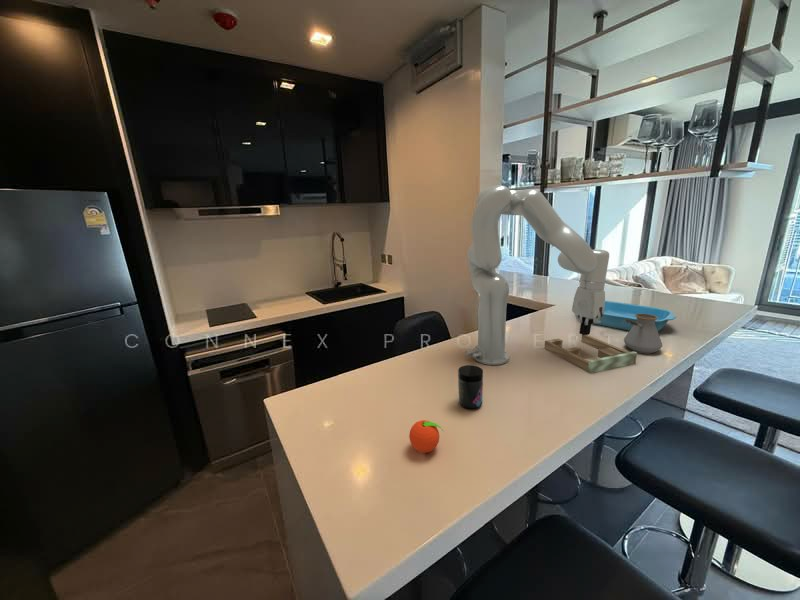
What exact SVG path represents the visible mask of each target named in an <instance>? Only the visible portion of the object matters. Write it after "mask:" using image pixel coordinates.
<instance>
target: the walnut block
mask: <svg viewBox="0 0 800 600" xmlns="http://www.w3.org/2000/svg"><path fill="white" fill-rule="evenodd" d="M597 351H598V352H597V357H599V358H604V357H609V356H614V355H619V354H623V353H621V352H619V351H617V350H614V349H612V348H605V349H598V350H597Z"/></svg>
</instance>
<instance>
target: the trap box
mask: <svg viewBox="0 0 800 600" xmlns="http://www.w3.org/2000/svg"><path fill="white" fill-rule="evenodd" d="M563 341H564V340H563V339H561V338H559V337H558V338H555V339H554V338H553V339H547V340H544V349H545V350H547V351H549V352H551V353H552V354H554V355H556V356H559V358H562V359H563V360H566V361H567V362H568V363H571V364H572V365H574V366H576V367H578V368H580V369H582V370H584V371H586V372H587V373H589V374H594V373H599V372H604V371H608V370H614V369H617V368H621V367H623V368H624V367H627V366H631V365H636V364H637V358H638V357H637V356H638V352H635V351H633V350H632V351H627V350H625V349H622V348H620V347H618V346H615V345H612V344H611V343H607V342H605V341H603V340H600V339H598V338H596V337H593V336H591V335H582V334H581V342H582V343H585V344H586V345H589V346H591V347H592V348H596V349H598V350H600V349H605V348H612V349H614V350H617V351H619V352H621V353H623V354H619V355H614V356H609V357H604V358H599V357H598V356H594V357H590V358H584V357H582V355H581V353H582V348H581V347H578V346H575V347H569V348H564V347H563Z"/></svg>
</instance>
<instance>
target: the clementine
mask: <svg viewBox="0 0 800 600" xmlns="http://www.w3.org/2000/svg"><path fill="white" fill-rule="evenodd" d="M438 428H440V429H441V431H442V432H444V430H443V428H442V427H441V426H440V425H439V424H437V423H435V422H433V421H430V420H426V419H425V420H424V419H423V420H419V421H416V422H415V423H414V424H413V425H412V426H411V427H410V430H409V435H408V437H409V438H408V439H409V441H410V444H411V445H412V447H413V448H414V449H415V450H416V451H417V452H419V453H431V452H432V451H433V450H435V449H436V448H437V446H438V444H439V441H440V433H439V429H438Z"/></svg>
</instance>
